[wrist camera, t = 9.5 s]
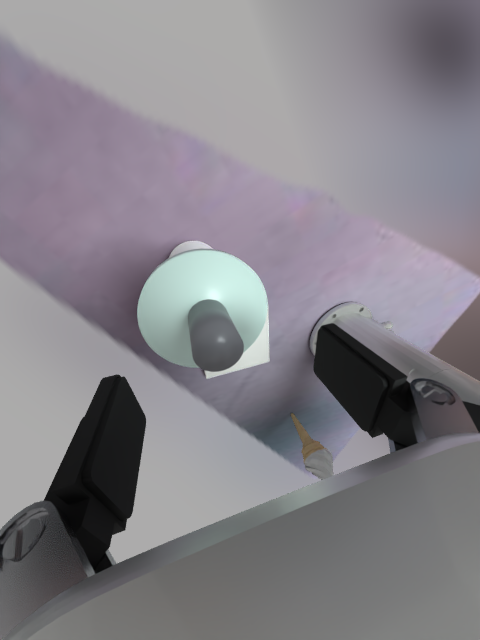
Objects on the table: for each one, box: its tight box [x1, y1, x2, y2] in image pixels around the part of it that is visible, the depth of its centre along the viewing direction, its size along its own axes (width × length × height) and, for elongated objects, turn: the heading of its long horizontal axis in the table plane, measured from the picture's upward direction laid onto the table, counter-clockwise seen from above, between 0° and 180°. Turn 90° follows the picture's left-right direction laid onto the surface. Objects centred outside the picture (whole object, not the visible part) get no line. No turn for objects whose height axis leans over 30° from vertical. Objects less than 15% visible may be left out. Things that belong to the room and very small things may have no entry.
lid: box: [137, 248, 268, 372], centre depth 13 cm, size 9×9×5 cm
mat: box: [205, 308, 269, 379], centre depth 31 cm, size 11×11×1 cm
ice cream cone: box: [291, 413, 333, 480], centre depth 40 cm, size 6×6×15 cm
